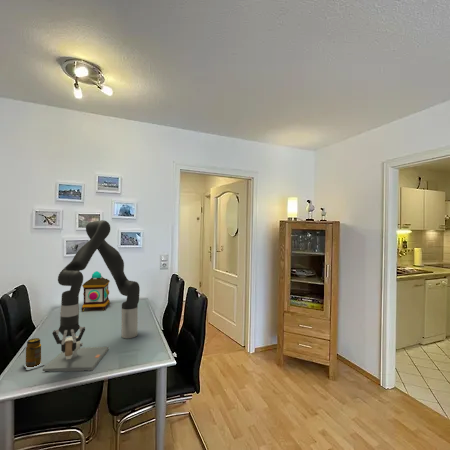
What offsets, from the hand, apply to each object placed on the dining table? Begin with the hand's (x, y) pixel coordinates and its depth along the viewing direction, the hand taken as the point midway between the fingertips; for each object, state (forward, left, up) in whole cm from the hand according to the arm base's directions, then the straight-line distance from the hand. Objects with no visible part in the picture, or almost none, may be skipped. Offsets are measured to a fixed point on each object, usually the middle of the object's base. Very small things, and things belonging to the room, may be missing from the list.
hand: (68, 350), depth 130 cm
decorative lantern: (-100, -25, -9) cm, 103 cm away
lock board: (-10, 0, -9) cm, 13 cm away
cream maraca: (-6, -2, -4) cm, 7 cm away
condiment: (-5, -18, -9) cm, 21 cm away
